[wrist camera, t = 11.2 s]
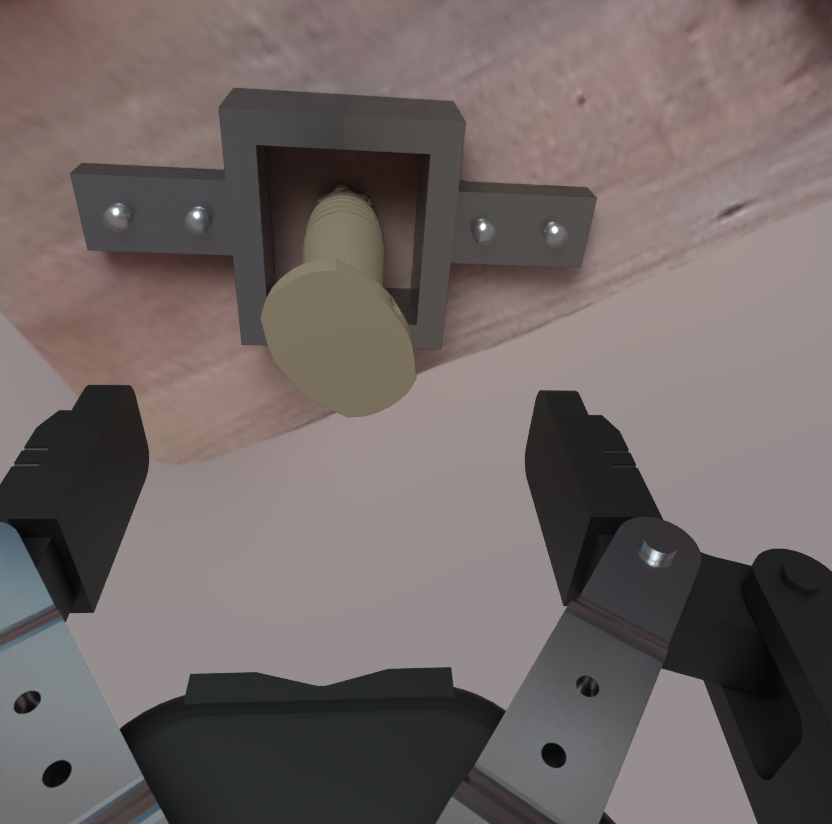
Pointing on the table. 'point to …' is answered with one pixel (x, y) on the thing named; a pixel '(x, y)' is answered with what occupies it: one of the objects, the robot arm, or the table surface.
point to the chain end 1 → (212, 193)
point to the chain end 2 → (463, 207)
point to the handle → (341, 314)
